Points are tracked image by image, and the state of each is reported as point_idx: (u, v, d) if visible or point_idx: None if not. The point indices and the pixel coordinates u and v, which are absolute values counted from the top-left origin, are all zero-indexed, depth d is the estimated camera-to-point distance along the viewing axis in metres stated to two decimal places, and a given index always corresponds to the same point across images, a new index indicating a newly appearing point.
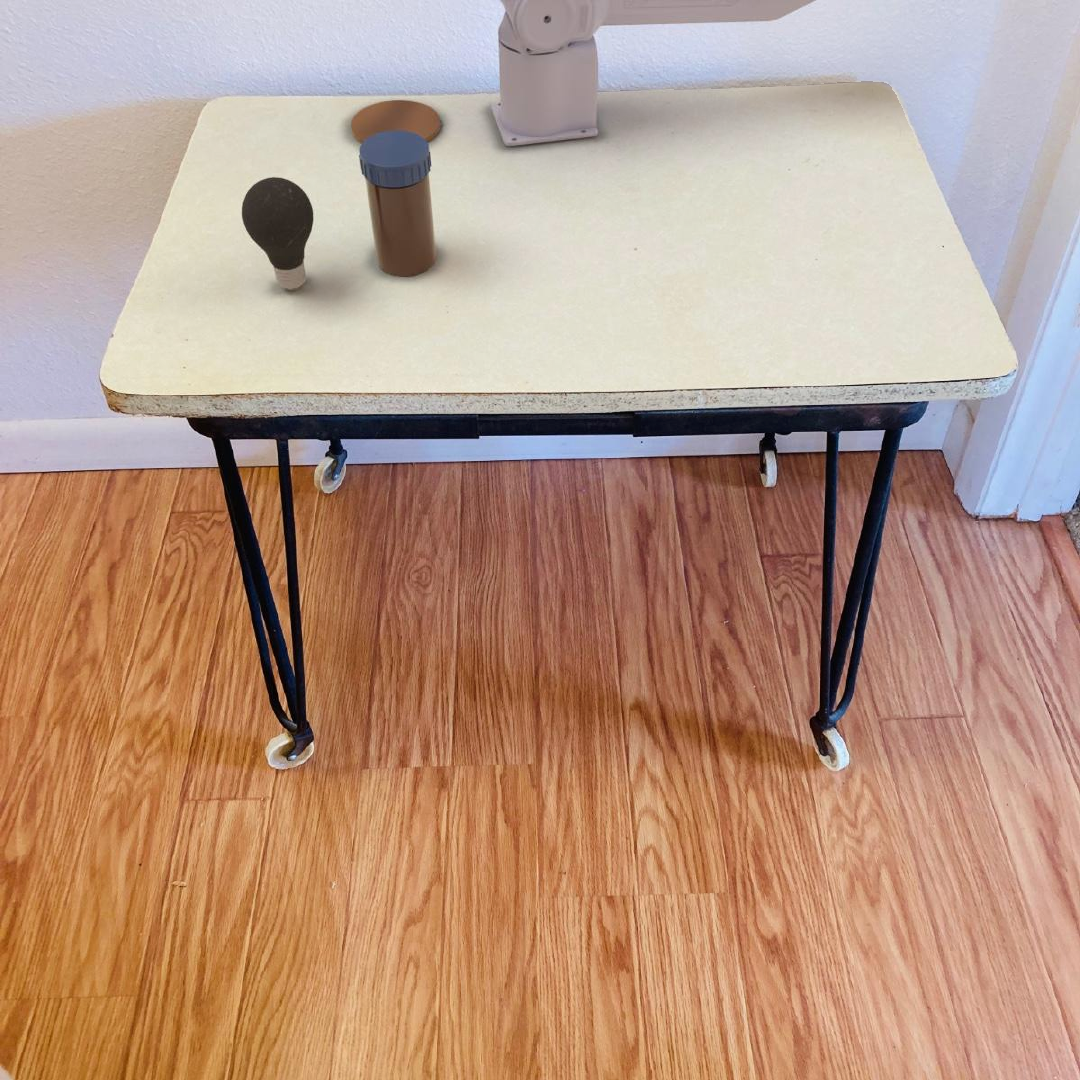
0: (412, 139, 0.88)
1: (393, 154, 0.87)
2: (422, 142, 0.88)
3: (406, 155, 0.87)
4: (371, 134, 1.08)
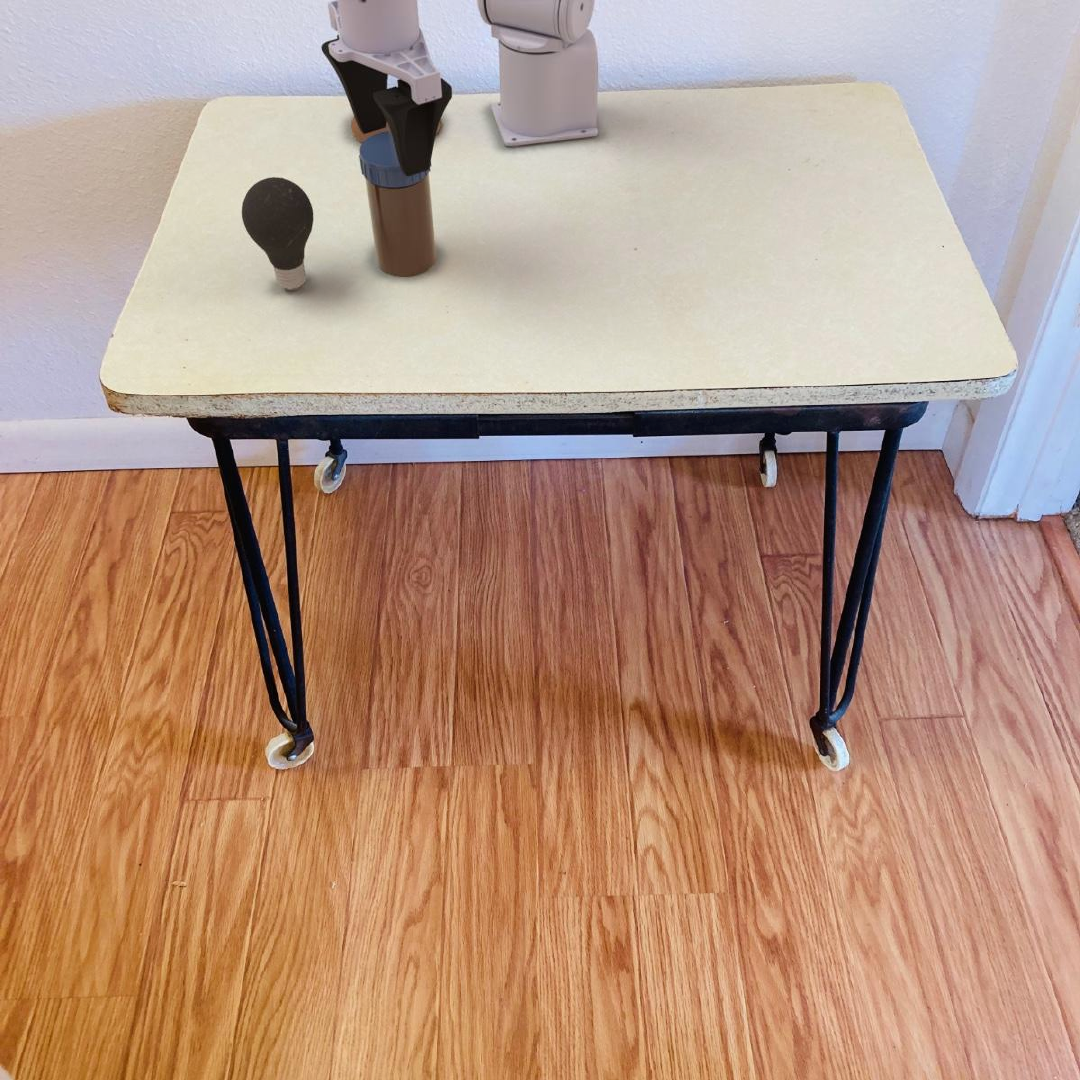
0: None
1: (393, 154, 0.87)
2: None
3: None
4: (371, 134, 1.08)
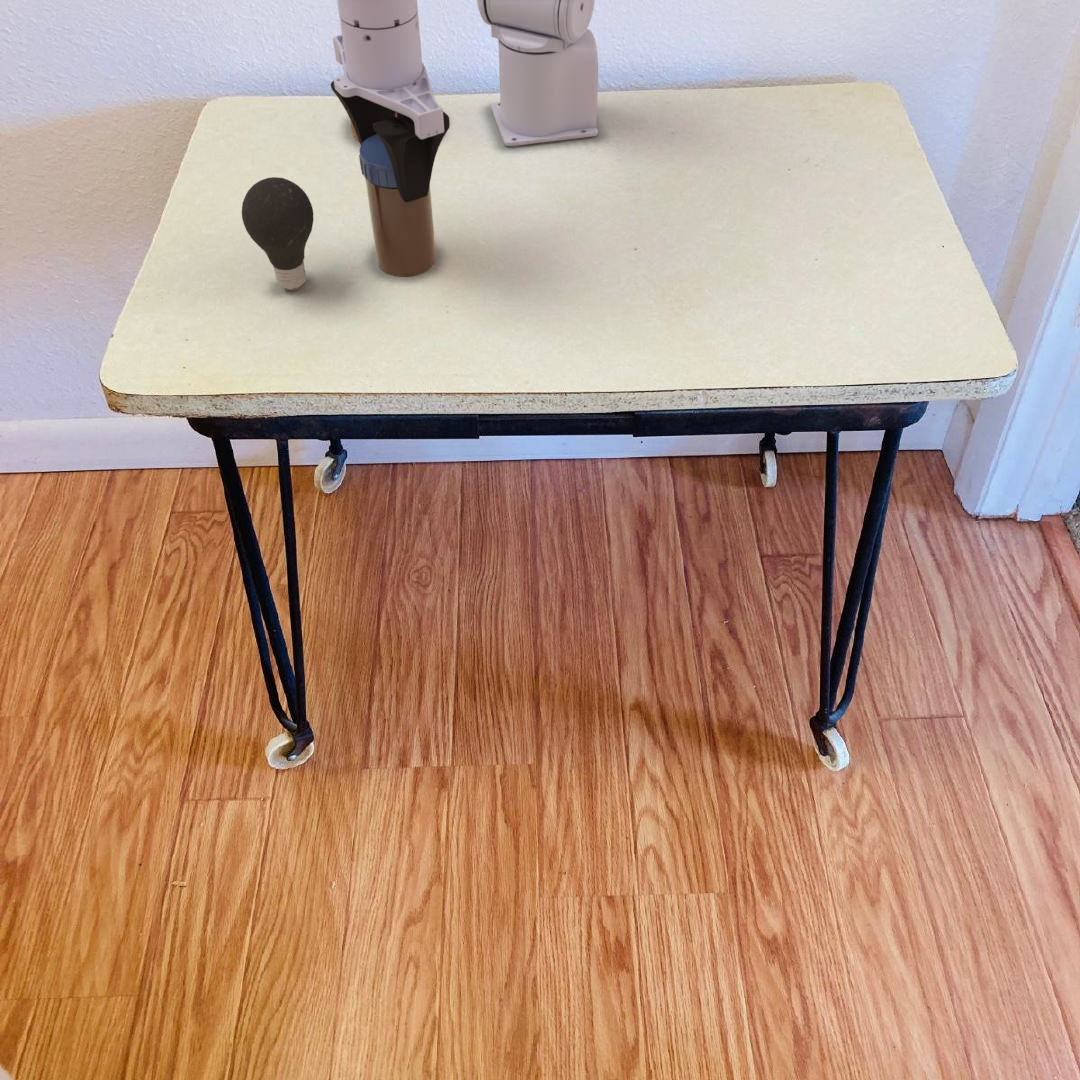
0: None
1: None
2: None
3: None
4: None
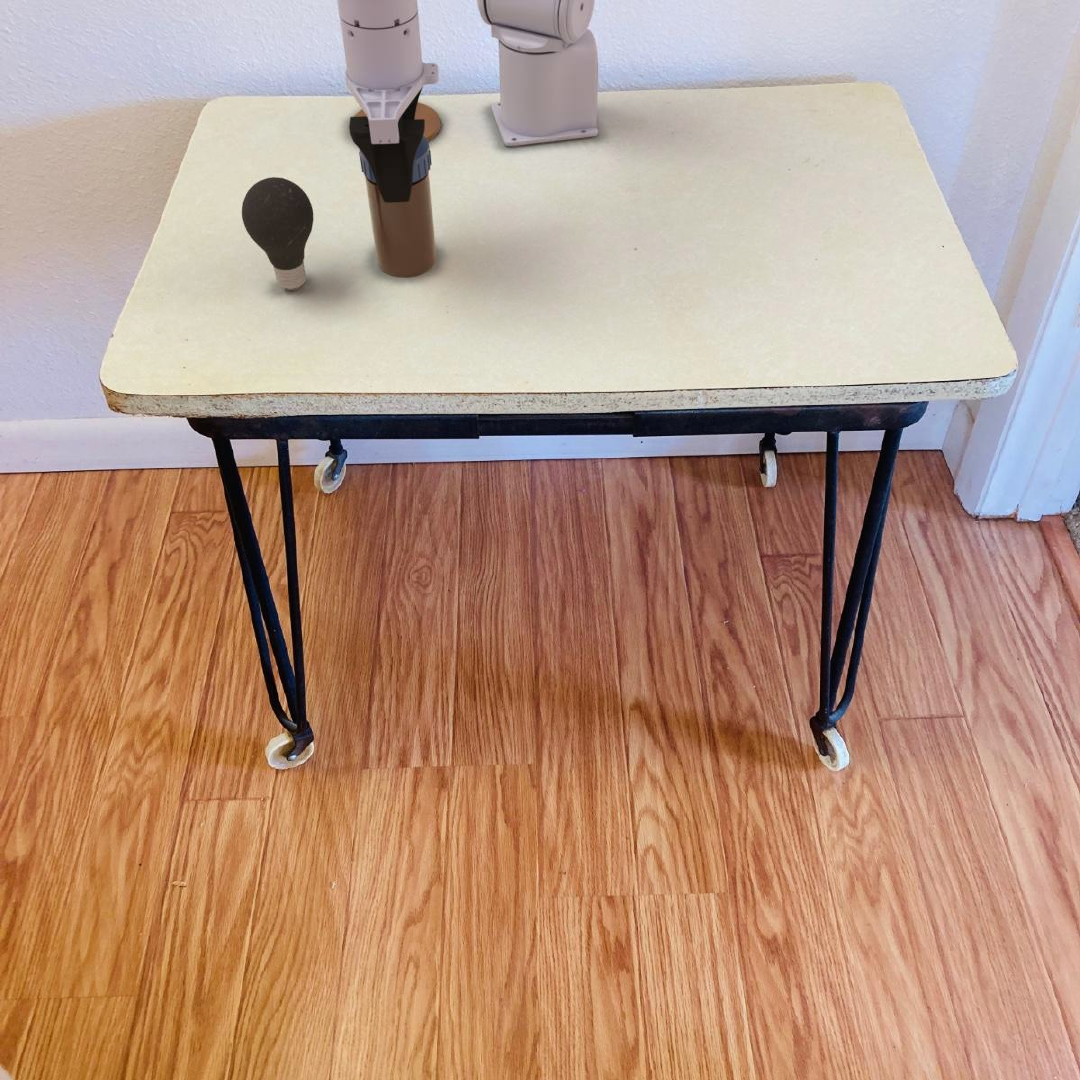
0: None
1: None
2: None
3: None
4: None
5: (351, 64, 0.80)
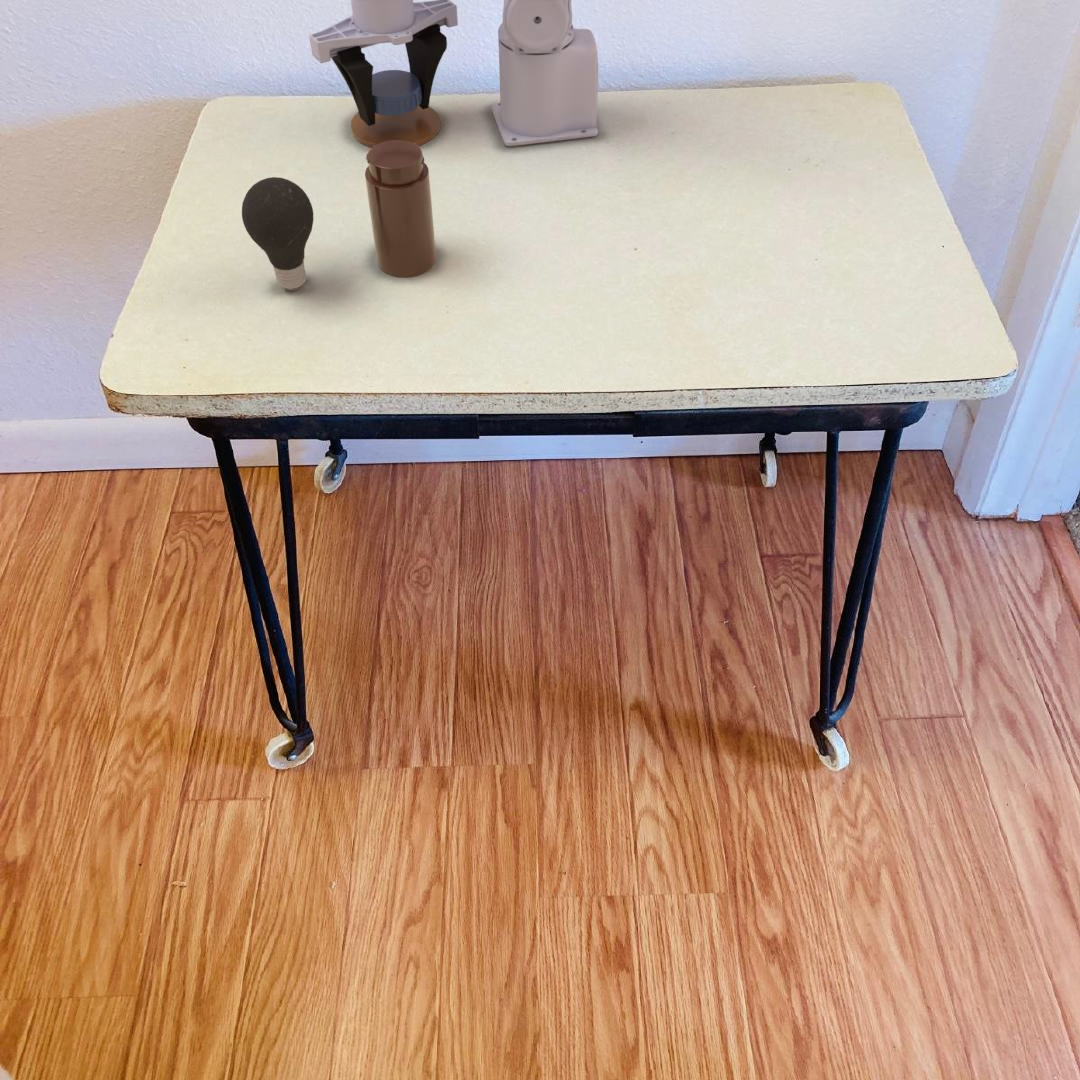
0: (380, 76, 1.07)
1: (400, 83, 1.06)
2: (386, 72, 1.08)
3: (403, 78, 1.07)
4: (371, 134, 1.08)
5: None
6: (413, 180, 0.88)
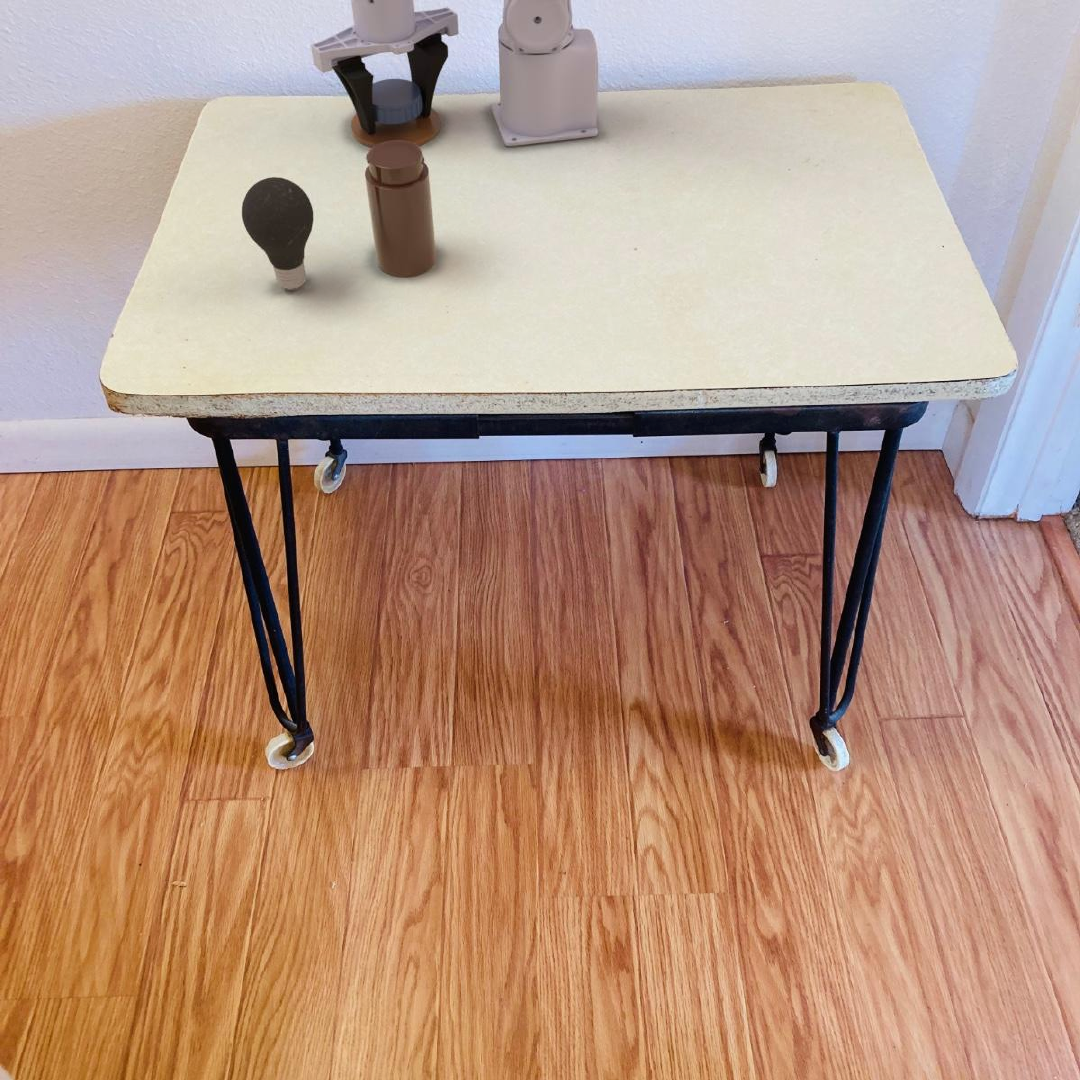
0: (381, 85, 1.08)
1: (401, 92, 1.07)
2: (387, 80, 1.09)
3: (404, 87, 1.08)
4: (371, 134, 1.08)
5: None
6: (413, 180, 0.88)
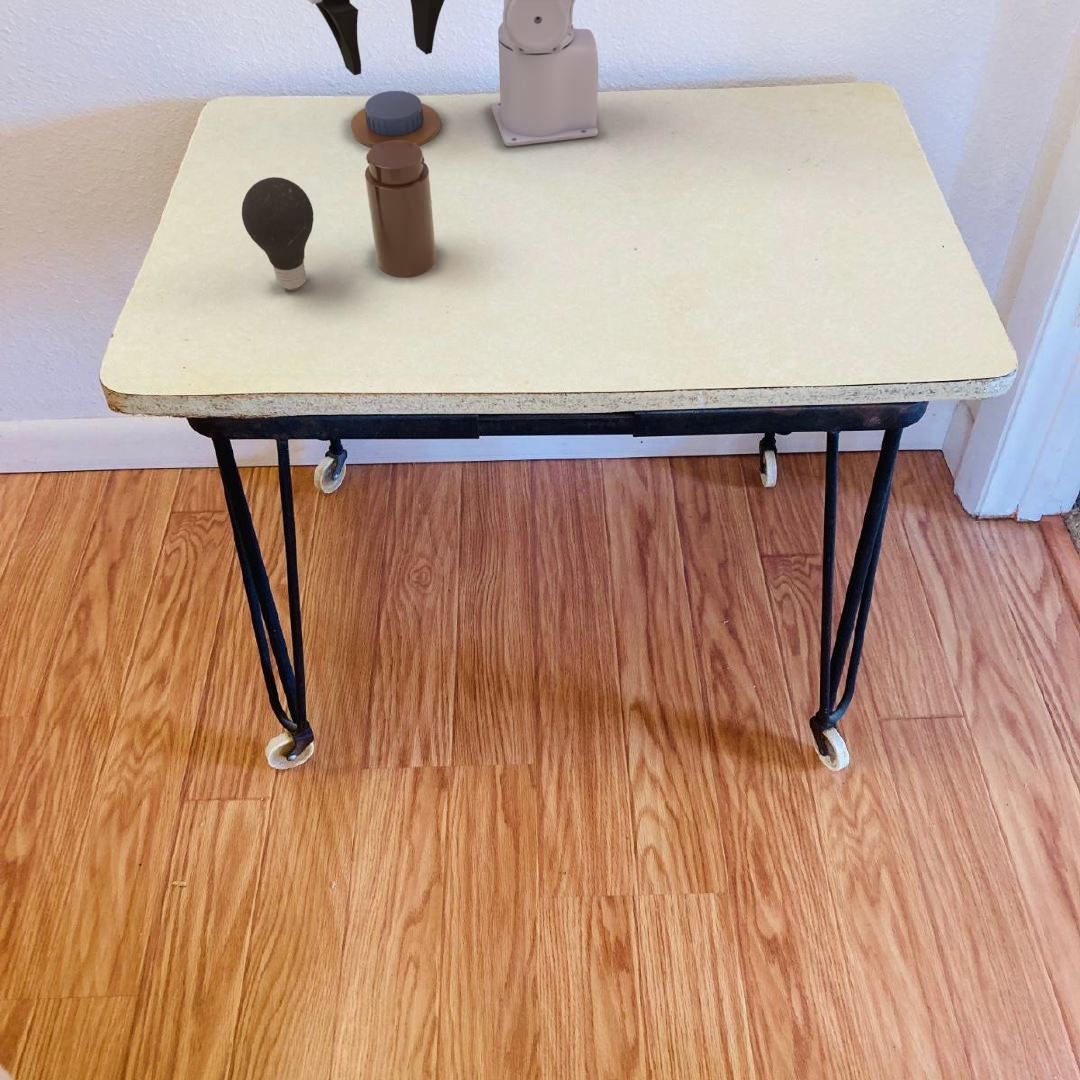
0: (382, 97, 1.09)
1: (402, 104, 1.08)
2: (388, 93, 1.09)
3: (405, 99, 1.09)
4: (371, 134, 1.08)
5: None
6: (413, 180, 0.88)
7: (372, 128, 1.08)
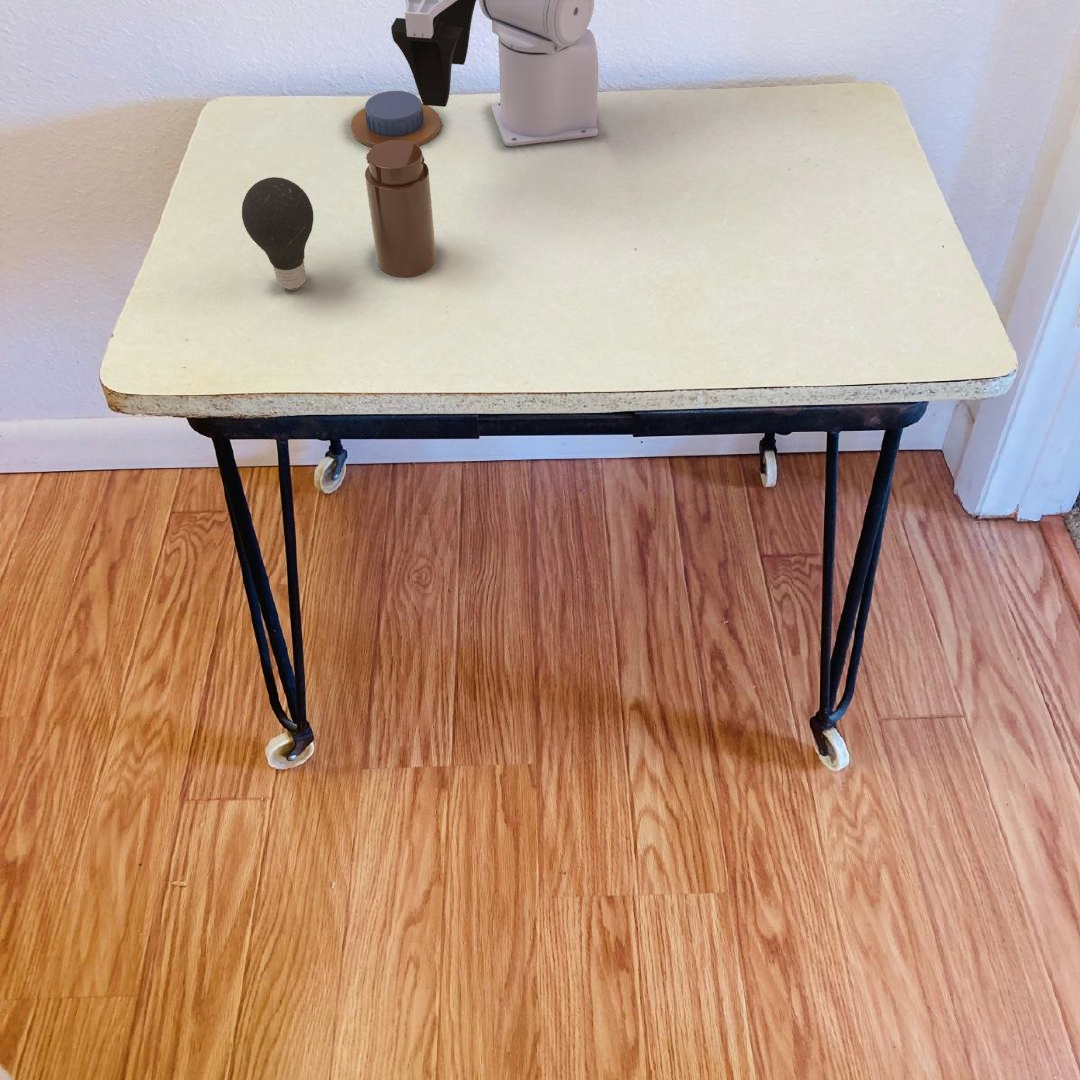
0: (382, 97, 1.09)
1: (402, 104, 1.08)
2: (388, 93, 1.09)
3: (405, 99, 1.09)
4: (371, 134, 1.08)
5: None
6: (413, 180, 0.88)
7: (372, 128, 1.08)
